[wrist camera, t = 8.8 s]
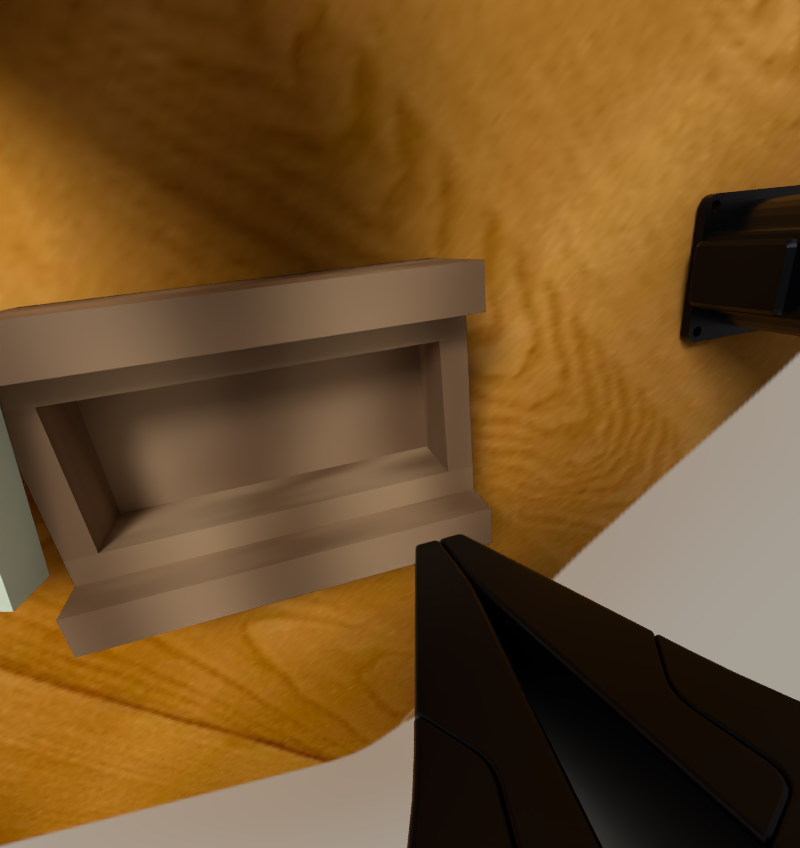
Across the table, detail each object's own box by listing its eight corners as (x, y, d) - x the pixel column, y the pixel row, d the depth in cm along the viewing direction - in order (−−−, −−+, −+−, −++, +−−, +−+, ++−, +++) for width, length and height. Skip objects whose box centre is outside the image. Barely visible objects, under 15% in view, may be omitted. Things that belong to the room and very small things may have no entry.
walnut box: (427, 258, 18) (484, 259, 13) (443, 481, 21) (492, 542, 17) (17, 307, 14) (-93, 331, 10) (121, 558, 18) (75, 657, 14)
